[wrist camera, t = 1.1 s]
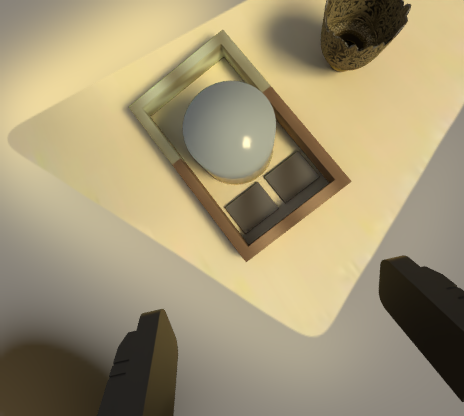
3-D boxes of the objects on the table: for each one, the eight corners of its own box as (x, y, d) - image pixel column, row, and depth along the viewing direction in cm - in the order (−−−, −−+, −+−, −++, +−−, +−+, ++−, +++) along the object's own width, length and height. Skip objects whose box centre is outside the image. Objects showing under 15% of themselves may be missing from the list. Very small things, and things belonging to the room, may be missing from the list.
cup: (303, 39, 33) (317, -19, 25) (364, 22, 33) (397, -43, 25) (318, 96, 33) (337, 55, 25) (380, 80, 32) (420, 32, 24)
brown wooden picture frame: (225, 43, 34) (222, 29, 32) (344, 184, 32) (351, 181, 29) (137, 115, 35) (128, 107, 32) (247, 259, 32) (246, 262, 30)
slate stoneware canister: (242, 98, 34) (236, 62, 26) (288, 153, 33) (295, 132, 25) (186, 143, 34) (164, 121, 27) (229, 199, 33) (219, 192, 26)
